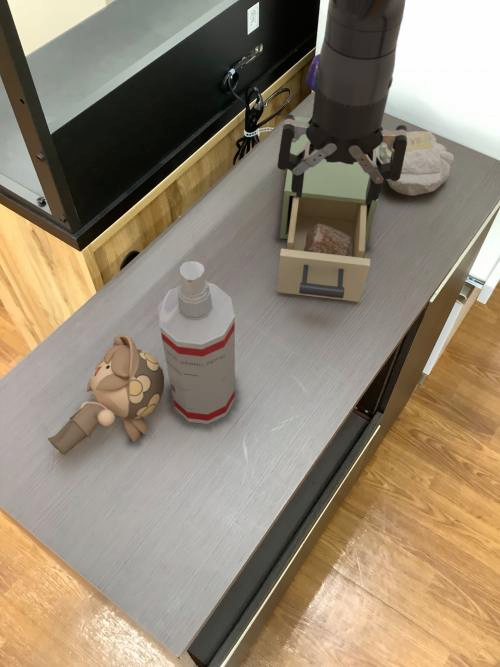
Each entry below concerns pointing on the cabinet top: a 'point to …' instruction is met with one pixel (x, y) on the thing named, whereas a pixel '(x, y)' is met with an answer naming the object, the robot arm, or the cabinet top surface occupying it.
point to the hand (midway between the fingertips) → (333, 196)
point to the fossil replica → (420, 164)
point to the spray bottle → (199, 346)
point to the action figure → (116, 395)
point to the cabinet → (328, 185)
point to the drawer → (318, 268)
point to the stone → (327, 241)
